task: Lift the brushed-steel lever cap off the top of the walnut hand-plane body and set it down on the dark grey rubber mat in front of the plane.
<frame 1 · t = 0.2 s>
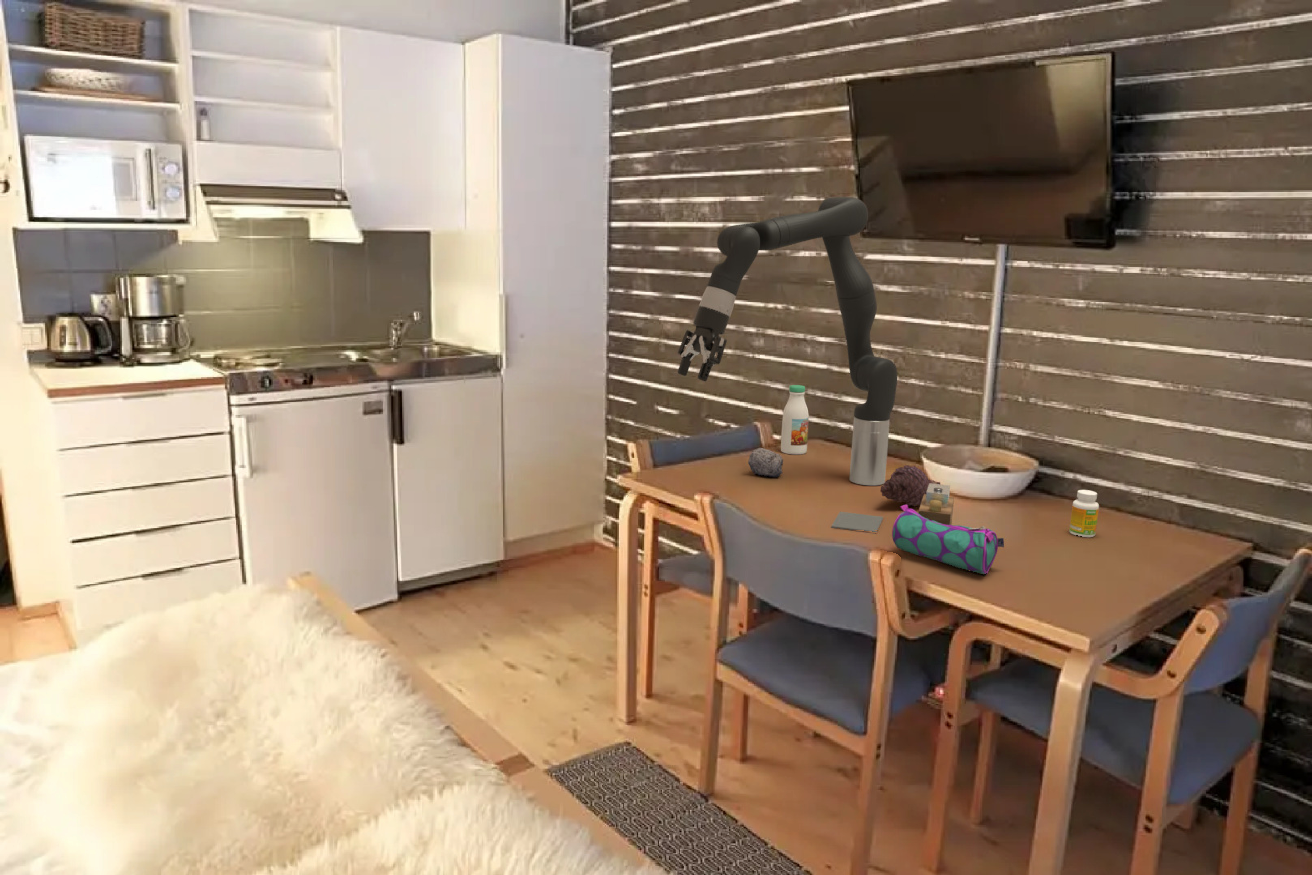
hand: (691, 377, 218), 31 cm above the table, tool tilted 20°, fingers open, 8 cm apart
lever cap: (937, 502, 209), point 7 cm above the table, touching plane body
pencil case: (942, 562, 194), on the table
pumice stone: (766, 476, 257), on the table
mat: (857, 523, 217), on the table
plane body: (933, 536, 209), on the table
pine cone: (906, 506, 232), on the table
supplement bottle: (1081, 534, 213), on the table
milk bottle: (793, 452, 284), on the table
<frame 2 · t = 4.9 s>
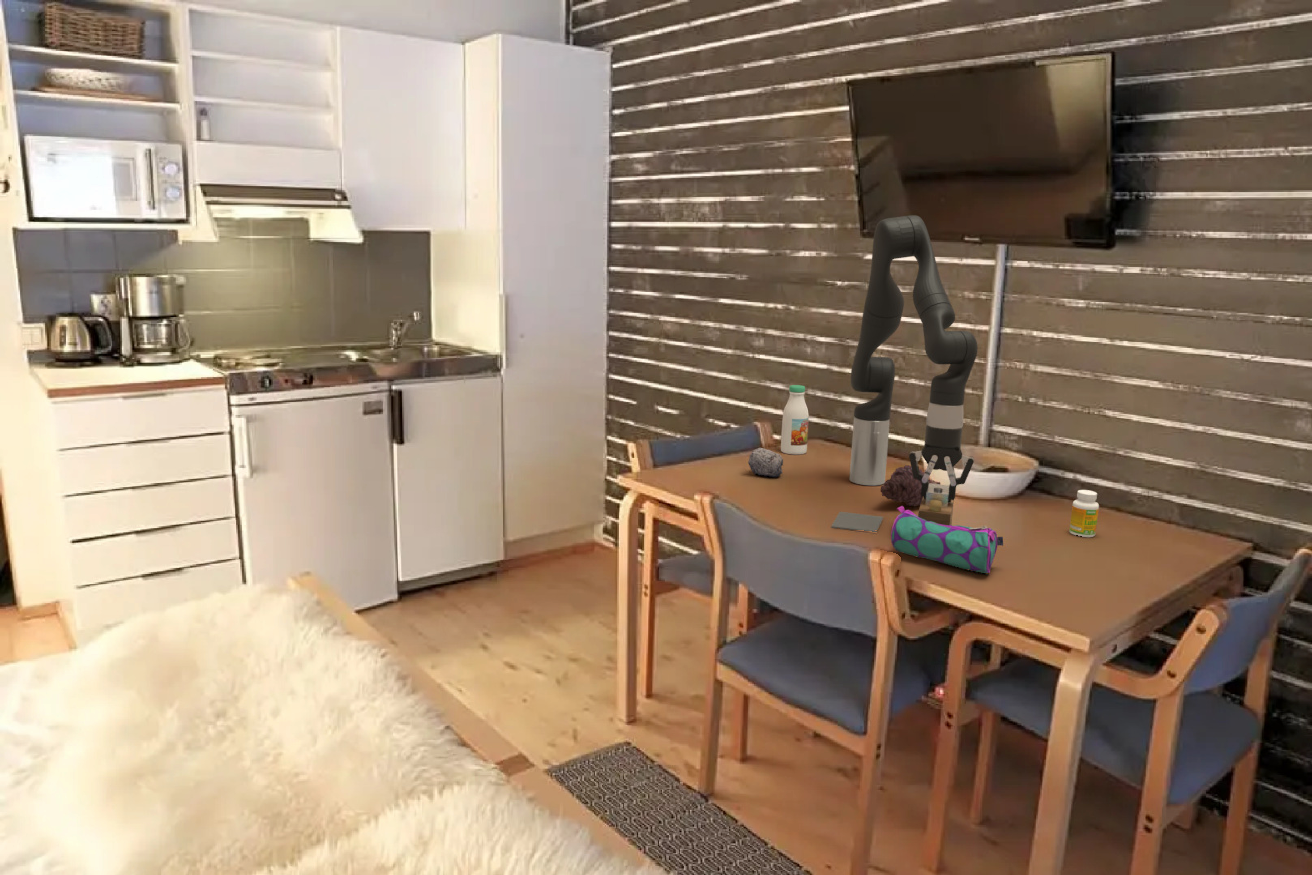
hand: (937, 499, 208), 8 cm above the table, tool pointing down, fingers closed on lever cap, 4 cm apart
lever cap: (937, 502, 209), point 8 cm above the table, touching gripper, plane body
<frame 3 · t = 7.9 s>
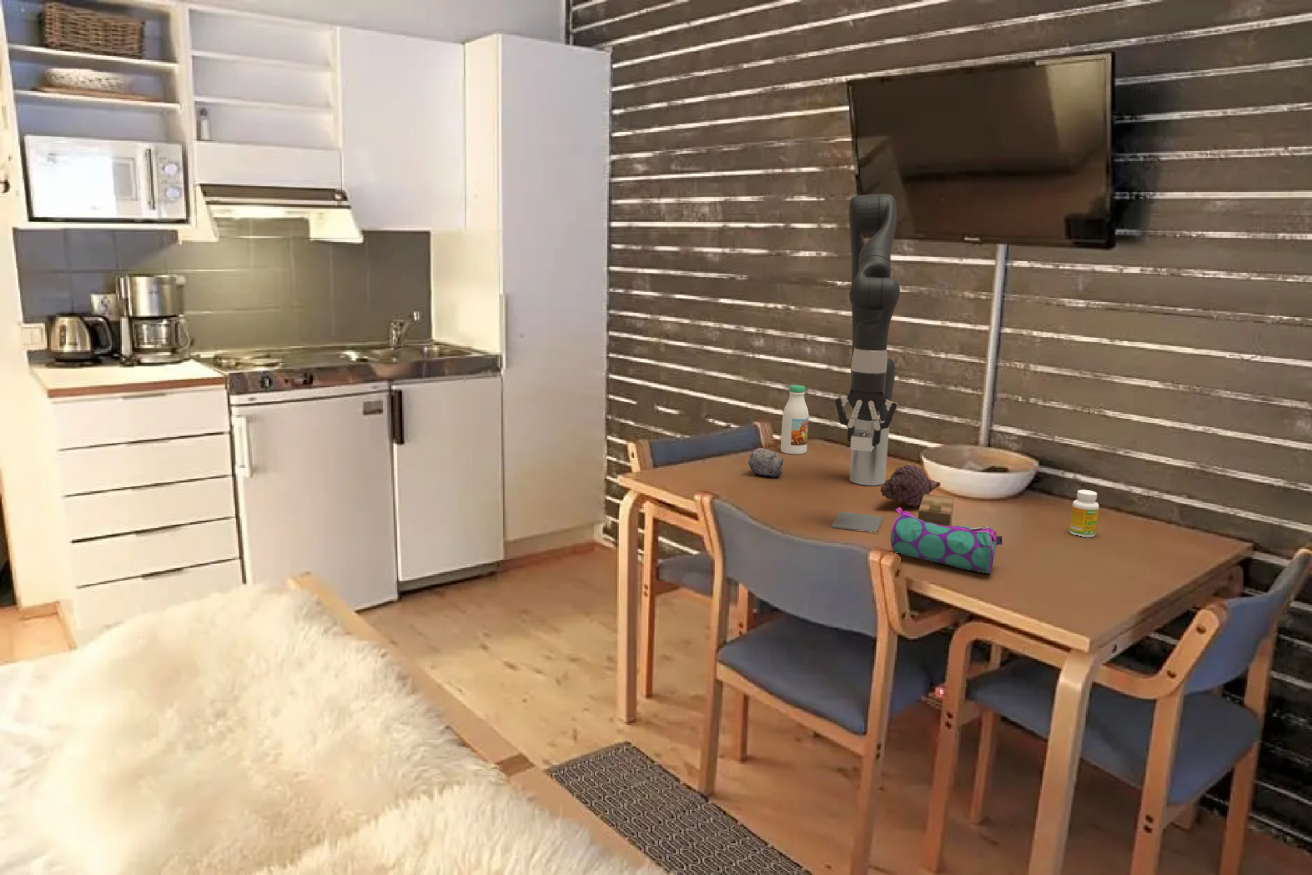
hand: (863, 444, 213), 18 cm above the table, tool pointing down, fingers closed on lever cap, 4 cm apart
lever cap: (863, 446, 213), point 18 cm above the table, touching gripper
when the fingers open (2 cm above the table, at t = 11.0 s): lever cap drops 2 cm, resting on mat.
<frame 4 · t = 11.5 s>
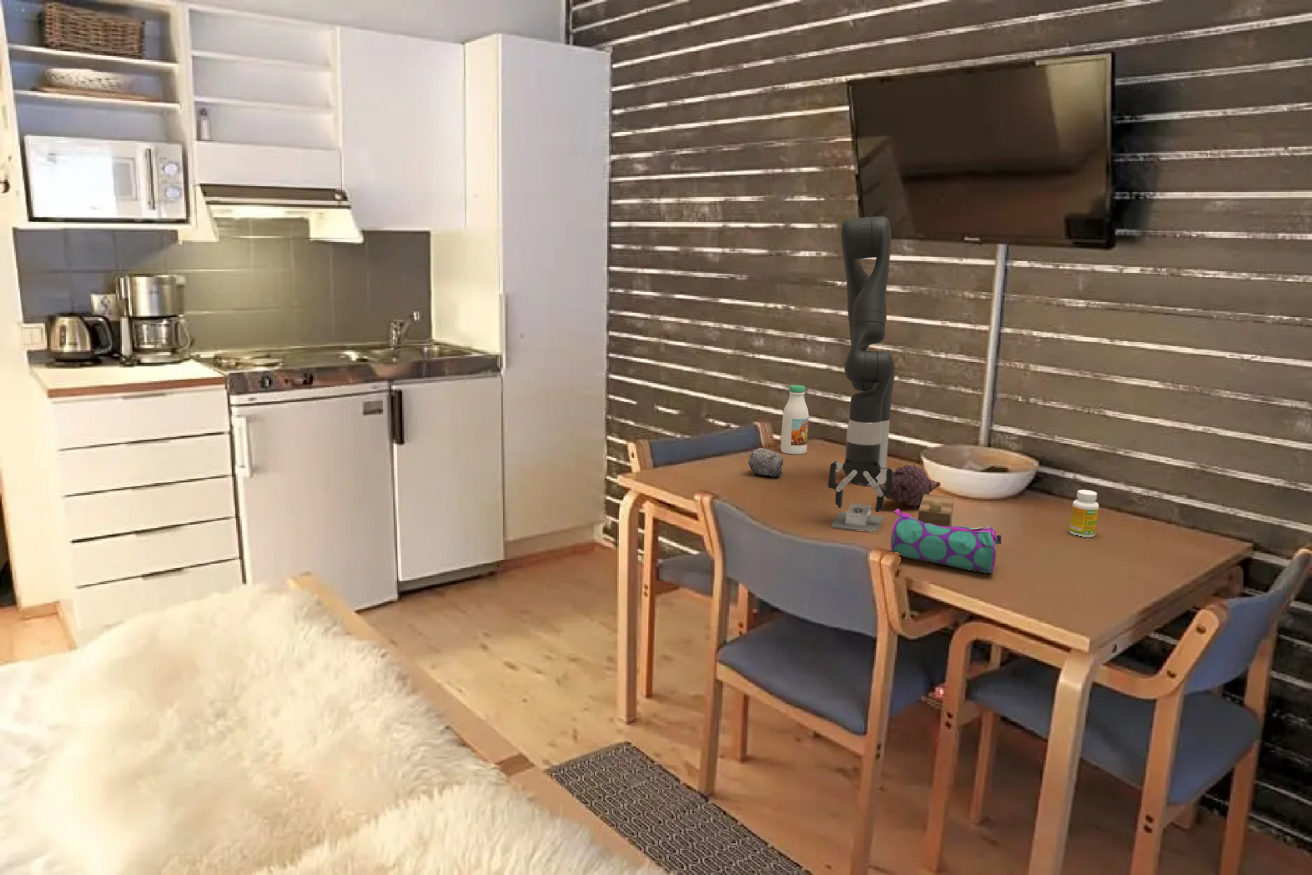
hand: (858, 509, 216), 3 cm above the table, tool pointing down, fingers open, 8 cm apart
lever cap: (857, 521, 217), resting on mat
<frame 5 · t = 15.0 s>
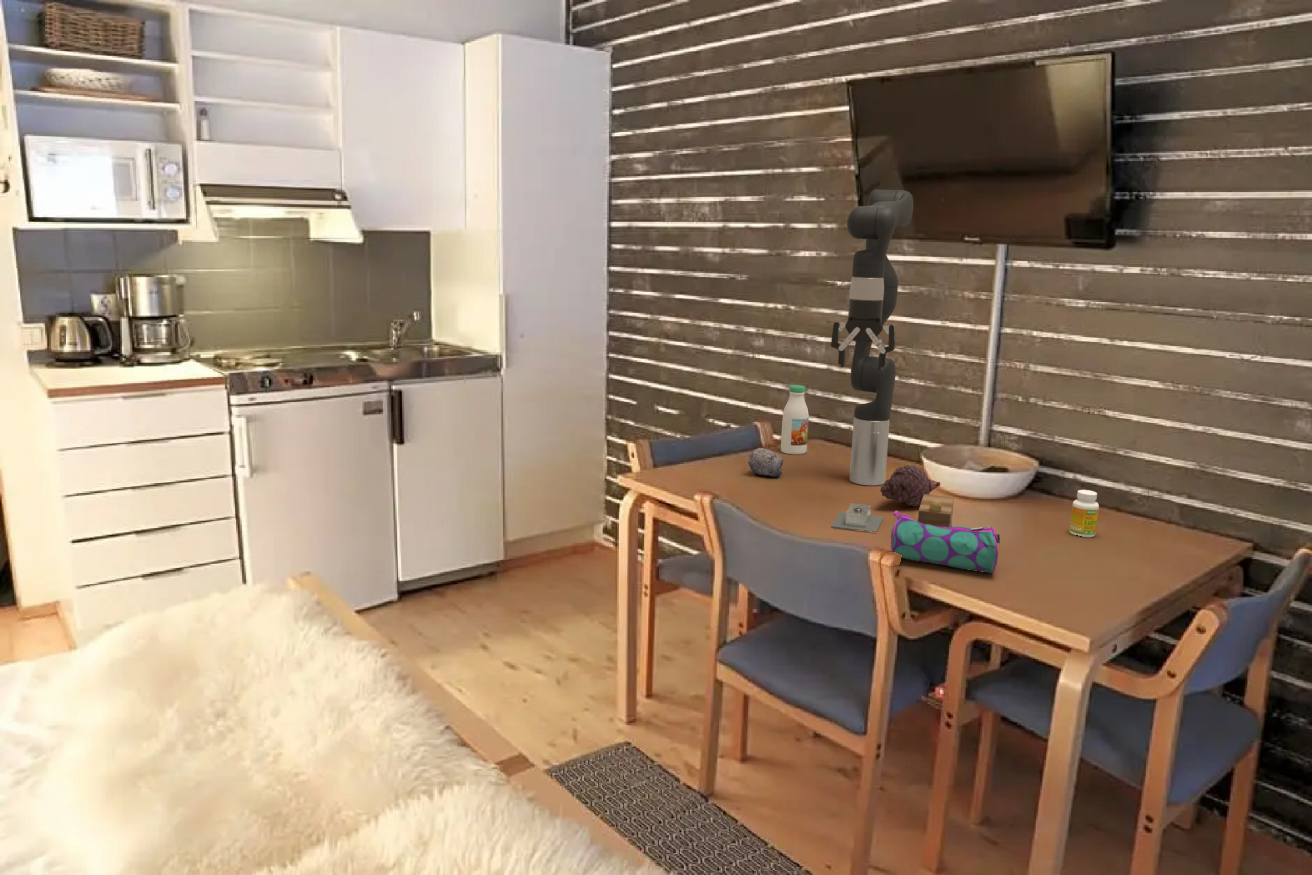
hand: (861, 368, 220), 34 cm above the table, tool pointing down, fingers open, 8 cm apart
at the end: lever cap inside the target area on the mat (0.1 cm from its centre), point 0.4 cm above the mat's base; lever cap touching mat; the gripper is holding nothing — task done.
